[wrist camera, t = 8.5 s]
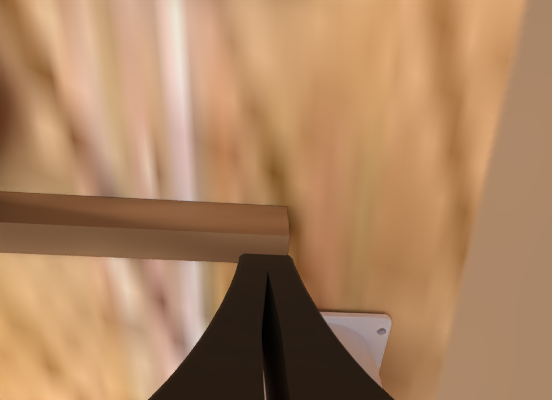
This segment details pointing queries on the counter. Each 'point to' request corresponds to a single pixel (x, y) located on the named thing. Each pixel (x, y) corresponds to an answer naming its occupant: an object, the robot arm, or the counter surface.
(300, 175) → the counter surface
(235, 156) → the counter surface
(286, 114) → the counter surface
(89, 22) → the counter surface
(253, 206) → the chute
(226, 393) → the robot arm
